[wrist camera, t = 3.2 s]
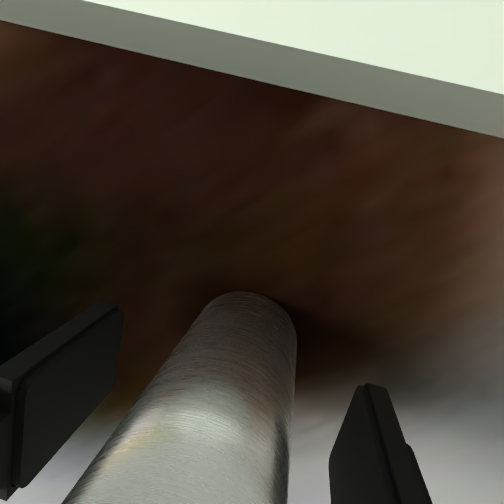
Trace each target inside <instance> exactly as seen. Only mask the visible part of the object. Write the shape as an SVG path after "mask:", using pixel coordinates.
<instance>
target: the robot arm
mask: <svg viewBox="0 0 504 504" xmlns="http://www.w3.org/2000/svg"><path fill="white" fill-rule="evenodd" d="M123 319H124V313H123V312H122V311H120V307H119V305H115V304H112V303H109V302H106V301H99V302H98V303H96V304H95V305H93V306H91V307H90V308H88V309H87V310H85V311H84V312H82V313H81V314H79V315H78V316H76V317H75V318H73V319H71V320H70V321H68V322H67V323H65V324H64V325H62V326H61V327H59V328H58V329H56V330H55V331H53V332H51V333H50V334H48V335H47V336H45V337H44V338H42V339H41V340H39V341H38V342H36V343H35V344H33V345H32V346H30V347H28V348H27V349H25V350H24V351H22V352H21V353H19V354H18V355H16V356H15V357H13V358H12V359H10V360H8V361H7V362H5V363H4V364H2V365H1V366H0V499H2V500H5V501H7V500H8V499H9V498H10V496H11V495H12V494H13V493H14V492H15V491H16V490H17V489H18V488H19V487H20V488H24V487H26V486H27V485H28V484H29V483H30V482H31V481H32V480H33V479H34V477H35V476H36V475H37V474H38V473H39V472H40V471H41V470H42V468H43V467H44V466H45V465H46V464H47V463H48V462H49V460H50V459H51V458H52V457H53V456H54V455H55V454H56V452H57V451H58V450H59V449H60V448H61V447H62V446H63V444H64V443H65V442H66V441H67V440H68V439H69V438H70V436H71V435H72V434H73V433H74V432H75V431H76V430H77V428H78V427H79V426H80V425H81V424H82V423H83V422H84V420H85V419H86V418H87V417H88V416H89V415H90V414H91V412H92V411H93V410H94V409H95V408H96V407H97V406H98V405H99V403H100V402H101V401H102V400H103V399H104V398H105V397H106V395H107V394H108V393H109V392H110V390H111V388H112V386H113V383H114V379H115V372H116V366H117V359H118V352H119V346H120V339H121V332H122V326H123ZM329 479H330V494H331V504H432V501H431V498H430V496H429V493H428V490H427V488H426V485H425V482H424V479H423V477H422V474H421V471H420V469H419V466H418V463H417V460H416V458H415V455H414V452H413V450H412V448H411V446H409V445H408V444H406V442H405V439H404V436H403V434H402V431H401V428H400V425H399V422H398V419H397V416H396V414H395V411H394V408H393V405H392V402H391V399H390V397H389V394H388V391H387V389H386V388H383V387H380V386H376V385H373V384H370V383H365V385H364V386H360V385H359V386H358V387H357V389H356V391H355V393H354V396H353V398H352V401H351V403H350V406H349V408H348V411H347V414H346V416H345V419H344V421H343V424H342V426H341V429H340V431H339V434H338V436H337V439H336V441H335V444H334V446H333V449H332V451H331V454H330V458H329Z"/></svg>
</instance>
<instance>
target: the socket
mask: <svg viewBox="0 0 504 504" xmlns="http://www.w3.org/2000/svg"><path fill="white" fill-rule="evenodd" d="M0 20H2V21H7V22H11V23H15V24H19V25H24V26H28V27H32V28H36V29H41V30H45V31H49V32H53V33H58V34H62V35H66V36H70V37H75V38H79V39H83V40H87V41H92V42H96V43H100V44H104V45H109V46H113V47H117V48H121V49H126V50H130V51H134V52H138V53H143V54H147V55H151V56H155V57H160V58H164V59H168V60H172V61H177V62H181V63H185V64H189V65H194V66H198V67H202V68H206V69H211V70H215V71H219V72H223V73H228V74H232V75H236V76H240V77H245V78H249V79H253V80H257V81H262V82H266V83H270V84H274V85H279V86H283V87H287V88H291V89H296V90H300V91H304V92H308V93H313V94H317V95H321V96H325V97H330V98H334V99H338V100H342V101H347V102H351V103H355V104H359V105H364V106H368V107H372V108H376V109H381V110H385V111H389V112H393V113H398V114H402V115H406V116H410V117H415V118H419V119H423V120H428V121H432V122H436V123H440V124H445V125H449V126H453V127H457V128H462V129H466V130H470V131H474V132H479V133H483V134H487V135H491V136H496V137H500V138H504V0H0Z"/></svg>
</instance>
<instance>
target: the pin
mask: <svg viewBox="0 0 504 504" xmlns="http://www.w3.org/2000/svg"><path fill="white" fill-rule="evenodd" d="M296 355H297V334H296V330H295V327H294V324H293V322H292V320H291V318H290V317H289V315H288V314H287V312H286V311H285V310H284V309H283V308H282V307H281V306H280V305H279V304H278V303H276V302H275V301H273V300H272V299H270V298H268V297H266V296H264V295H262V294H259V293H255V292H250V291H234V292H229V293H226V294H223V295H221V296H218V297H217V298H215V299H214V300H212V301H211V302H210V303H209V304H208V305H207V306H206V307H205V308H204V309H203V311H202V312H201V313H200V315H199V316H198V318H197V319H196V320H195V322H194V323H193V324H192V326H191V327H190V329H189V330H188V331H187V333H186V334H185V335H184V337H183V338H182V339H181V341H180V342H179V344H178V345H177V346H176V348H175V349H174V350H173V352H172V353H171V355H170V356H169V357H168V359H167V360H166V361H165V363H164V364H163V365H162V367H161V368H160V370H159V371H158V372H157V374H156V375H155V376H154V378H153V379H152V381H151V382H150V383H149V385H148V386H147V387H146V389H145V390H144V391H143V393H142V394H141V396H140V397H139V398H138V400H137V401H136V402H135V404H134V405H133V407H132V408H131V409H130V411H129V412H128V413H127V415H126V416H125V417H124V419H123V420H122V422H121V423H120V424H119V426H118V427H117V428H116V430H115V431H114V432H113V434H112V435H111V437H110V438H109V439H108V441H107V442H106V443H105V445H104V446H103V448H102V449H101V450H100V452H99V453H98V454H97V456H96V457H95V458H94V460H93V461H92V463H91V464H90V465H89V467H88V468H87V469H86V471H85V472H84V474H83V475H82V476H81V478H80V479H79V480H78V482H77V483H76V484H75V486H74V487H73V489H72V490H71V491H70V493H69V494H68V495H67V497H66V498H65V500H64V501H63V502H62V504H287V498H288V482H289V467H290V451H291V435H292V419H293V403H294V387H295V371H296Z"/></svg>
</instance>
